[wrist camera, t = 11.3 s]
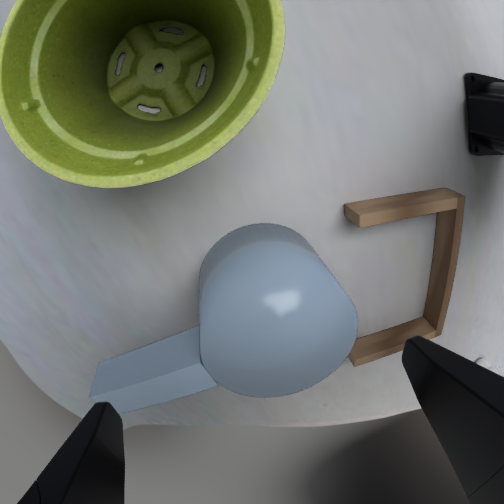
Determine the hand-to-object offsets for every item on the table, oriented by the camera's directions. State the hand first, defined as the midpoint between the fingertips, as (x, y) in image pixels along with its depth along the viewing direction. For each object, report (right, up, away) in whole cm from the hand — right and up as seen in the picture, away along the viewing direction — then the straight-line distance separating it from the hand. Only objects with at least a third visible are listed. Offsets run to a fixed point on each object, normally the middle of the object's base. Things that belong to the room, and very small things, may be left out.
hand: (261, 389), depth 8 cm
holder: (+11, +2, +14) cm, 18 cm away
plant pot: (-5, +14, +6) cm, 16 cm away
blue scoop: (-3, 0, +13) cm, 13 cm away
